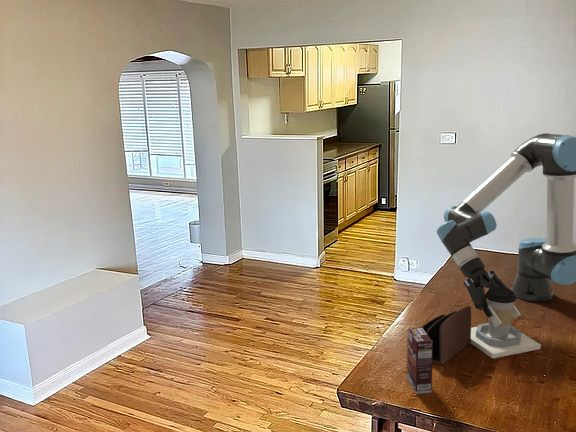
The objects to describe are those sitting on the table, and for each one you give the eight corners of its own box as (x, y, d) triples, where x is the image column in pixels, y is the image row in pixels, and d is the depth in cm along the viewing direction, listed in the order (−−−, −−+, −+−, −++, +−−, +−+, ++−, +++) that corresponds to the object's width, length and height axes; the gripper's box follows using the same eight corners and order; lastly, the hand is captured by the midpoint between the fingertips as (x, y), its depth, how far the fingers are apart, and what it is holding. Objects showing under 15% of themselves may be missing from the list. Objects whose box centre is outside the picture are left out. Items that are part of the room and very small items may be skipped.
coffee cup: (516, 341, 169) (519, 297, 165) (485, 340, 171) (487, 296, 167) (510, 328, 178) (513, 286, 174) (481, 327, 180) (483, 285, 176)
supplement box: (405, 378, 154) (406, 328, 151) (422, 377, 155) (423, 327, 151) (415, 394, 146) (416, 342, 142) (432, 393, 146) (433, 340, 143)
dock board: (503, 326, 185) (503, 316, 185) (540, 348, 168) (541, 338, 168) (458, 334, 181) (458, 324, 180) (492, 358, 164) (492, 348, 163)
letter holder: (471, 343, 174) (472, 303, 171) (441, 366, 161) (442, 323, 157) (443, 334, 181) (444, 296, 178) (412, 356, 167) (413, 314, 164)
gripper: (482, 261, 188) (520, 316, 179) (440, 274, 176) (479, 335, 167) (496, 250, 182) (536, 307, 173) (454, 263, 171) (494, 325, 161)
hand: (508, 321), depth 170 cm, fingers closed on coffee cup, 9 cm apart
